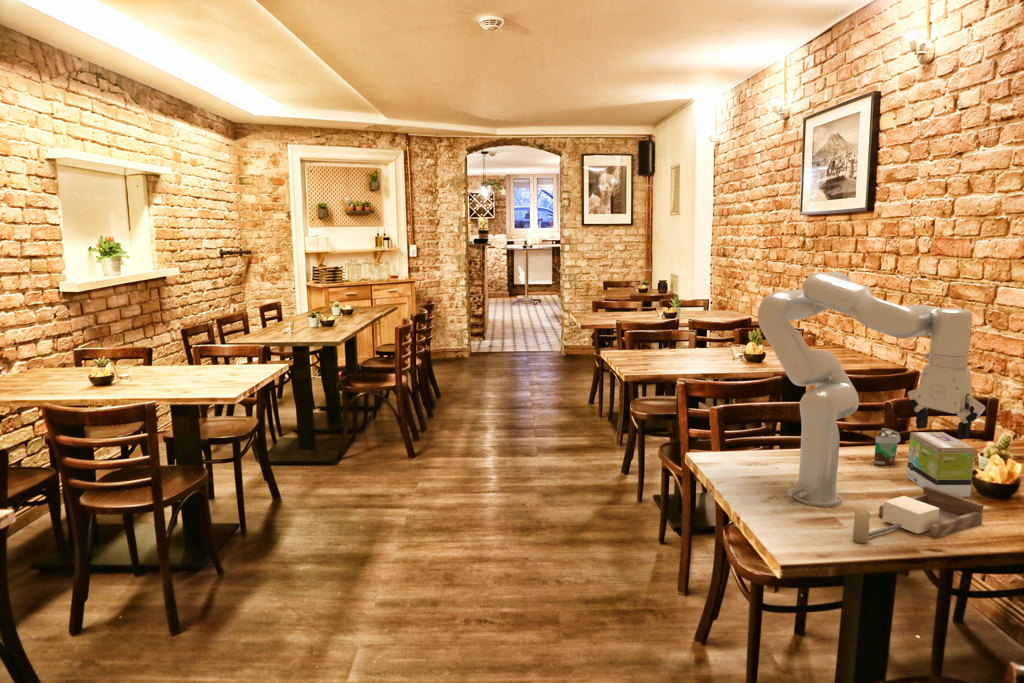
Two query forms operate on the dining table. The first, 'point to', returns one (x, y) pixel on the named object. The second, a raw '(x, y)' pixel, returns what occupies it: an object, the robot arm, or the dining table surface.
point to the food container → (886, 447)
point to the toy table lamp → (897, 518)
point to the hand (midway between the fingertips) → (941, 433)
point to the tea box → (940, 462)
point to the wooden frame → (948, 512)
